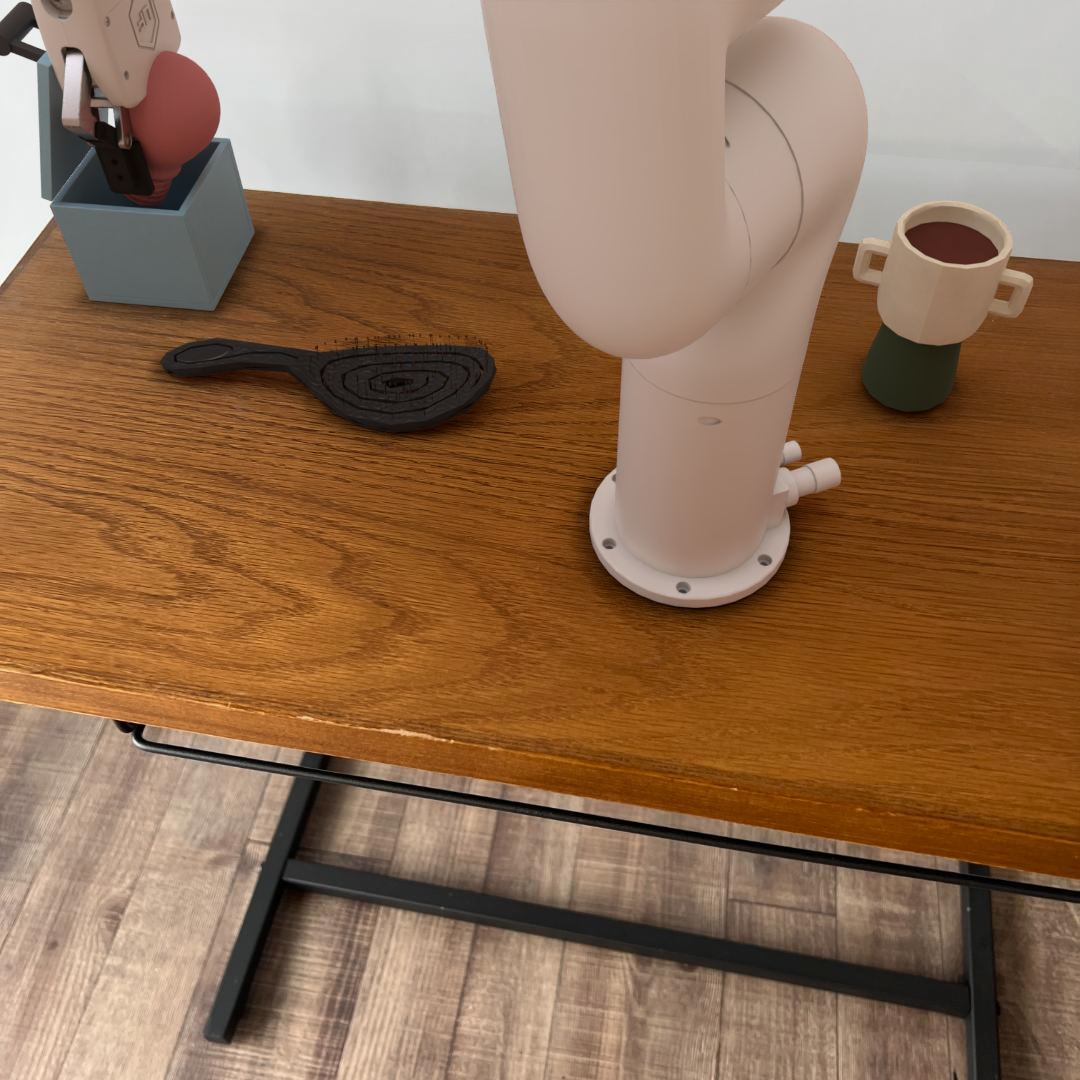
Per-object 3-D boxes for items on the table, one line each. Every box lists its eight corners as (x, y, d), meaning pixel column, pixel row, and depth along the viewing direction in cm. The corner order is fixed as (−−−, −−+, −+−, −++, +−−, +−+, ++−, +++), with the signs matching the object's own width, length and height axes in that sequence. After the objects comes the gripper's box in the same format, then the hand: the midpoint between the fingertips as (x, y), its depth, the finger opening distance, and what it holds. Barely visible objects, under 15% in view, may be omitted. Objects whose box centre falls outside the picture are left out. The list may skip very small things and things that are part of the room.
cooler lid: (111, -7, 76) (33, -38, 75) (48, 66, 69) (-38, 33, 68) (108, 126, 84) (38, 99, 83) (52, 202, 78) (-25, 174, 77)
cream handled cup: (990, 376, 78) (1054, 220, 67) (972, 442, 73) (1037, 287, 63) (840, 337, 80) (880, 182, 70) (815, 398, 76) (853, 244, 66)
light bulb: (181, 167, 86) (221, 40, 77) (198, 235, 83) (241, 111, 74) (86, 152, 82) (116, 16, 73) (100, 222, 79) (134, 90, 70)
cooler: (255, 232, 90) (230, 138, 83) (213, 311, 84) (183, 215, 77) (138, 223, 91) (105, 129, 84) (89, 300, 85) (48, 205, 78)
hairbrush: (175, 299, 80) (504, 320, 76) (191, 338, 83) (509, 360, 79) (129, 375, 75) (479, 402, 71) (148, 413, 78) (485, 442, 74)
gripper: (63, -34, 60) (158, 237, 74) (175, -150, 71) (239, 105, 85) (-61, -40, 61) (55, 229, 75) (67, -154, 72) (148, 100, 86)
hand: (152, 161), depth 80 cm, fingers closed on light bulb, 6 cm apart
